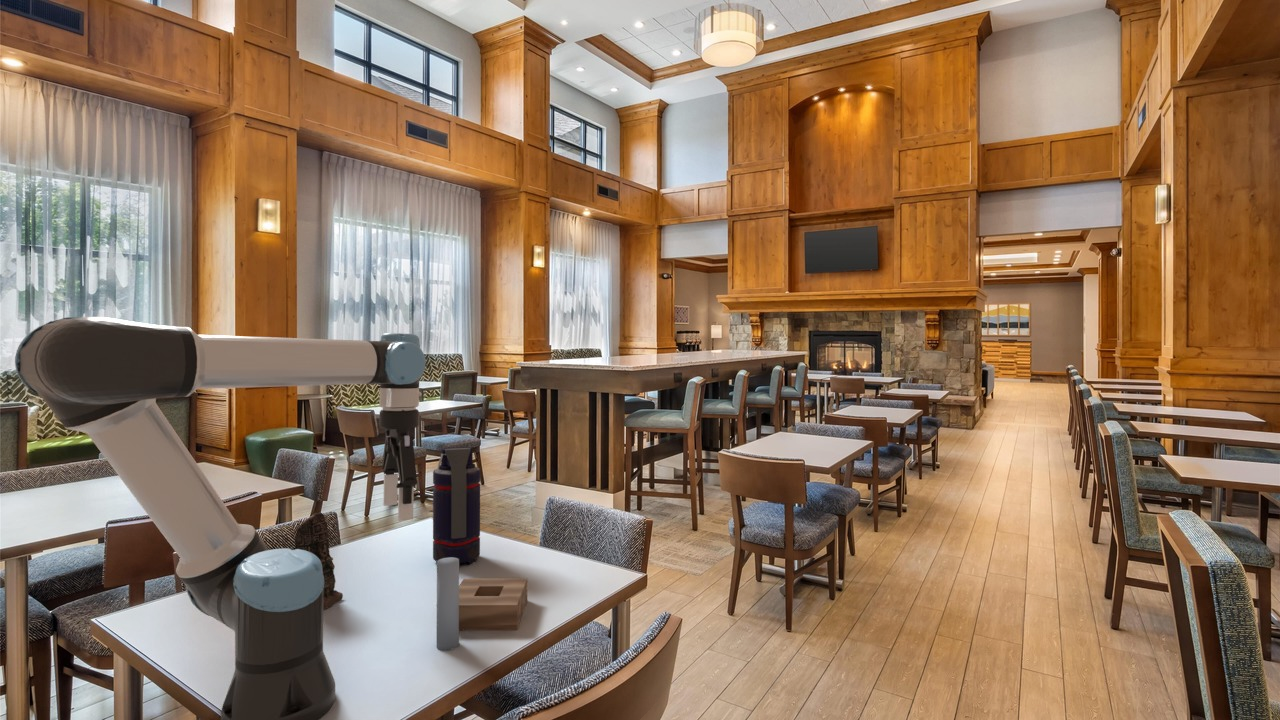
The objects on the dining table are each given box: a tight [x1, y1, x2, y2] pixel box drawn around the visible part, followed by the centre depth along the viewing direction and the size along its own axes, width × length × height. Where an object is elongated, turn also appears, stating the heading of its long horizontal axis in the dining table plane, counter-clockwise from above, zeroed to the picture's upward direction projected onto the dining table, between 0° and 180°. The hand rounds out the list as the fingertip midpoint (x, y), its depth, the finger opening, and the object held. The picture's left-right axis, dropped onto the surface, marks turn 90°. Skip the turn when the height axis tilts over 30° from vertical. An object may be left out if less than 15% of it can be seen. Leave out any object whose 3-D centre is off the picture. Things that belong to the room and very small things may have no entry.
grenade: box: [432, 446, 481, 565], centre depth 158 cm, size 14×12×30 cm
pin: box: [436, 557, 460, 651], centre depth 114 cm, size 4×4×16 cm
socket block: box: [459, 577, 528, 631], centre depth 127 cm, size 14×14×5 cm
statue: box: [294, 512, 344, 611], centre depth 132 cm, size 7×7×20 cm
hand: (397, 512), depth 124 cm, fingers open, 13 cm apart
